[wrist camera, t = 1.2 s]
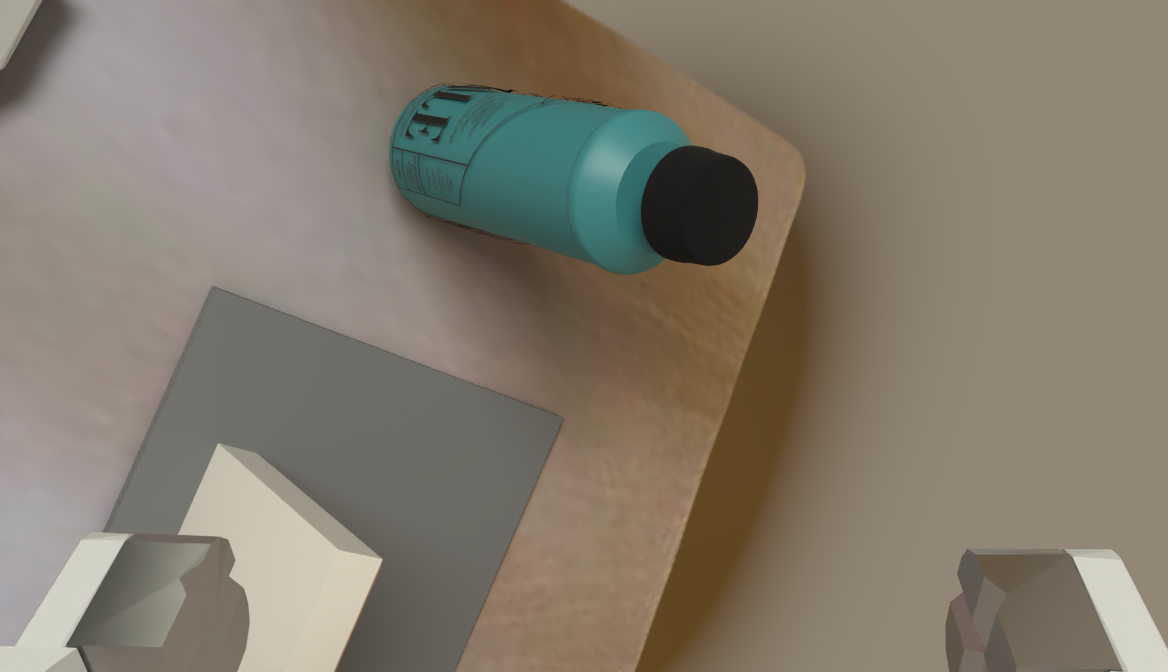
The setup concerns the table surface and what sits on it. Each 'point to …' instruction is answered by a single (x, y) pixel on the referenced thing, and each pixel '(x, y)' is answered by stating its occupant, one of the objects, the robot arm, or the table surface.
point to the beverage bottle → (572, 178)
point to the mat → (352, 465)
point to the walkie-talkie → (14, 25)
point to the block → (284, 563)
